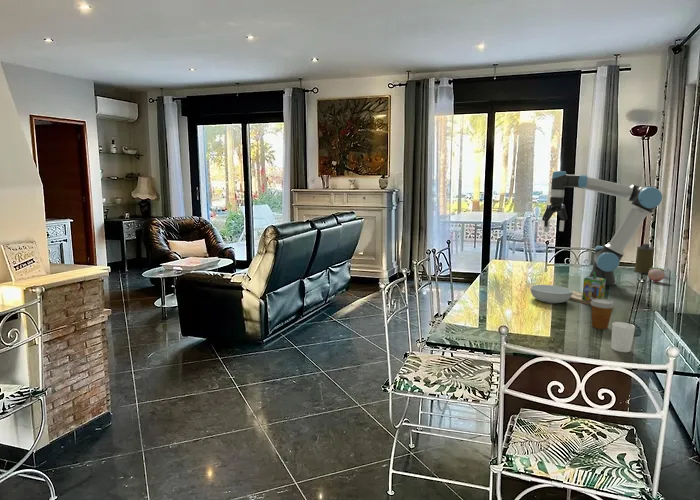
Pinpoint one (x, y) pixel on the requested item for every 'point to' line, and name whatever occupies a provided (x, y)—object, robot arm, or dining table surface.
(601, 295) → the chalk box
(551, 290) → the serving bowl
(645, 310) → the dining table surface
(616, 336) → the white cup
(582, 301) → the oak board
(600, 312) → the disposable coffee cup
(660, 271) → the decorative fruit
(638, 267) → the canister
